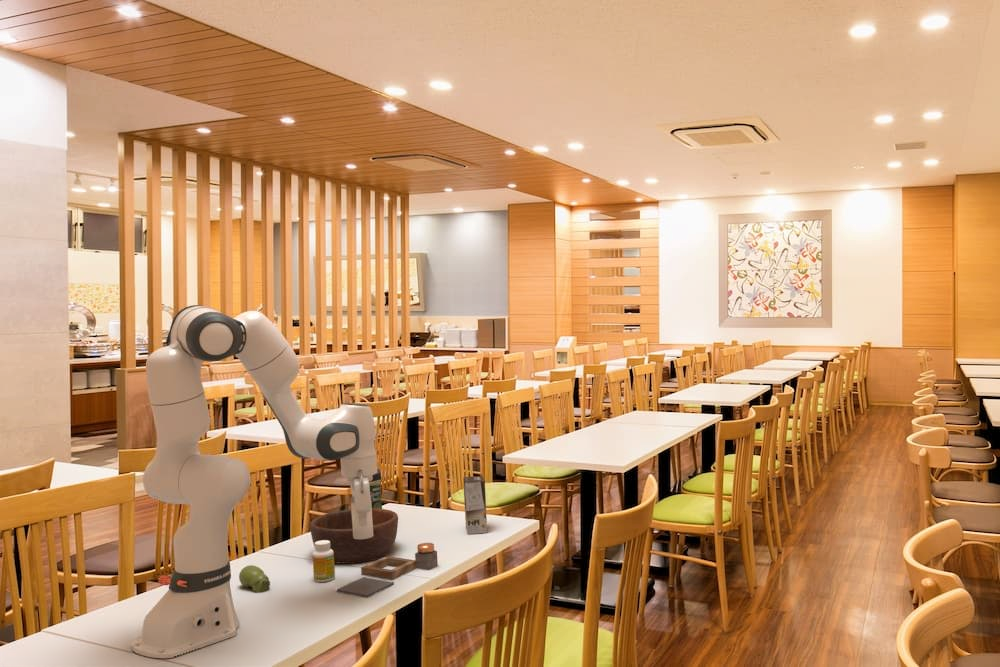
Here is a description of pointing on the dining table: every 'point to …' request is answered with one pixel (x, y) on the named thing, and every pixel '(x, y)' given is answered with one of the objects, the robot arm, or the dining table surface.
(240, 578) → the pear
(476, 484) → the coffee box
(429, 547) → the plunger
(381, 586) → the pad
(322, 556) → the supplement bottle
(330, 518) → the wooden bowl
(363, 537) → the cylinder
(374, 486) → the coffee jar
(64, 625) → the dining table surface
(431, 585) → the dining table surface
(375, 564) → the square wooden frame
